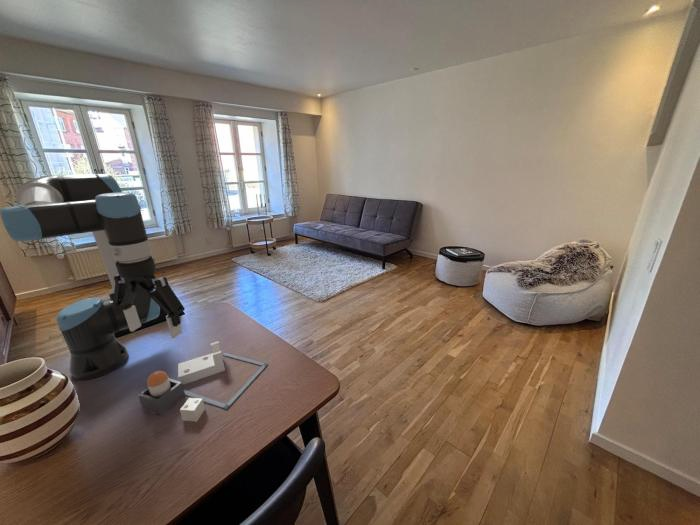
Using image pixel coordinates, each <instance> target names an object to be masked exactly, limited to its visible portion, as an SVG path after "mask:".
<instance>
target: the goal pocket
mask: <svg viewBox="0 0 700 525" xmlns="http://www.w3.org/2000/svg"><path fill="white" fill-rule="evenodd" d="M223 356H224V357H226V358H231V359H234V360H238V361H241V362H245V363H249V364H253V365H257V366H259V369H257V371H255V373H254V374H253V375H252V376H251V378H249V379H248V380H247V381H246V382H245V384H243V386H241V388H240V389H239V390H238V391H237V392H236V394H234V396H232V398H230V399H229V401H228V402H227V403H224V402H221V401H218V400H216V399H212V398H209V397H206V396H204V395H200V394H197V393H194V392H191V391H188V390H186V389H184V392H185V397H188V398H201V399H203V402H204V403H206V404H209V405H212V406H215V407H218V408H220V409H223V410H227V411H228V409H229V408H230V407H231V406H232V405H233V404H234V403H235V402H236V400H237V399H238V398H239V397H240V396H241V395H242V394H243V393H244V392H245V390H246V389H247V388H248V387H249V386H250V385H251V384H252V383H253V382H254V381H255V380H256V379H257V377H259V375H260V374H261V373H262V372H263V371H264V370H265V369H266V368H267V367H268V363H265V362H263V361H262V362H261V361H258V360H254V359H252V358H251V359H250V358H246V357H242V356H239V355H235V354H232V353H228V352H224V353H223V354H222V357H223Z"/></svg>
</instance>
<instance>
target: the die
mask: <svg viewBox="0 0 700 525" xmlns="http://www.w3.org/2000/svg"><path fill="white" fill-rule="evenodd" d="M205 411H206V407H205V402H203V399H201V398H191V397H188V398H187V400H186V401H185V403H184V404H183V405H182V406H181V408H180V409H179V413H180V416H181V418H182V421H183V422H198V421H199V419H200V418H201V416H202V415H203V413H204V412H205Z"/></svg>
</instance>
